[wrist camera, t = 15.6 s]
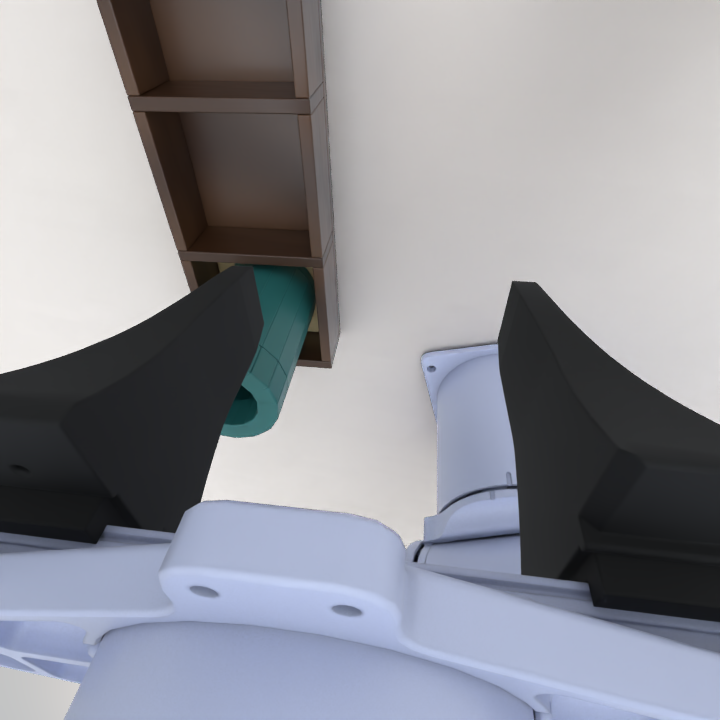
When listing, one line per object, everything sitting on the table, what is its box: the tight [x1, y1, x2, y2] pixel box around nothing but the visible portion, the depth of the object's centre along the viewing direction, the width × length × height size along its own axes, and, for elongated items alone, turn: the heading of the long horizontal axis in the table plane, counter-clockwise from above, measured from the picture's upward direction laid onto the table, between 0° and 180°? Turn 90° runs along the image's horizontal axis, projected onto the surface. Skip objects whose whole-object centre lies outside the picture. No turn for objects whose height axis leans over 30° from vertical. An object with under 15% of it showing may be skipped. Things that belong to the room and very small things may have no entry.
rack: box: [97, 0, 340, 368], centre depth 19 cm, size 19×7×3 cm, turn 1°
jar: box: [220, 263, 316, 438], centre depth 21 cm, size 5×5×8 cm
